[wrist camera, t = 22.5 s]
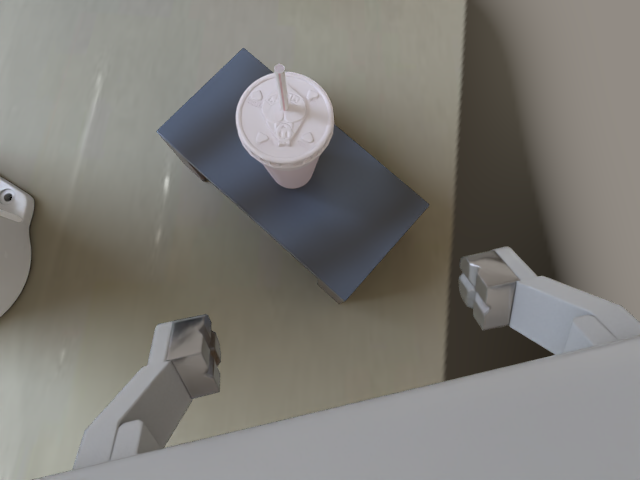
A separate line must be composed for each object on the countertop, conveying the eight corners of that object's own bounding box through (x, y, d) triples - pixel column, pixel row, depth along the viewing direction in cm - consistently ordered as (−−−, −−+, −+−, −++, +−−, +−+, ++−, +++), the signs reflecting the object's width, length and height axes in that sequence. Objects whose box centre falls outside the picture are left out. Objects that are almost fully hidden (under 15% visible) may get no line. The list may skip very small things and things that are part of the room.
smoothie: (328, 132, 37) (337, 24, 23) (330, 203, 36) (340, 134, 22) (255, 133, 37) (220, 25, 23) (254, 204, 36) (217, 134, 22)
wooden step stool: (183, 163, 45) (155, 131, 37) (255, 92, 46) (243, 46, 38) (339, 304, 42) (345, 301, 35) (409, 224, 44) (430, 204, 36)
